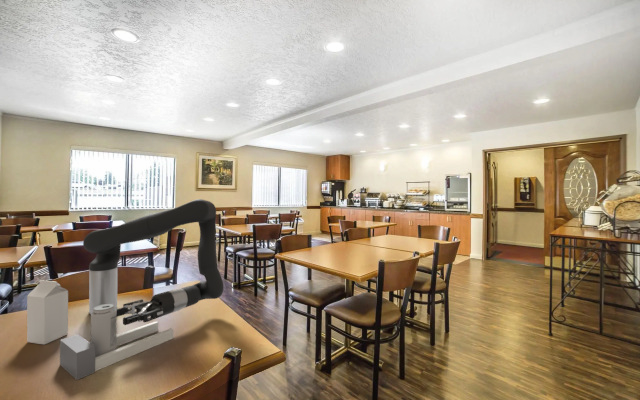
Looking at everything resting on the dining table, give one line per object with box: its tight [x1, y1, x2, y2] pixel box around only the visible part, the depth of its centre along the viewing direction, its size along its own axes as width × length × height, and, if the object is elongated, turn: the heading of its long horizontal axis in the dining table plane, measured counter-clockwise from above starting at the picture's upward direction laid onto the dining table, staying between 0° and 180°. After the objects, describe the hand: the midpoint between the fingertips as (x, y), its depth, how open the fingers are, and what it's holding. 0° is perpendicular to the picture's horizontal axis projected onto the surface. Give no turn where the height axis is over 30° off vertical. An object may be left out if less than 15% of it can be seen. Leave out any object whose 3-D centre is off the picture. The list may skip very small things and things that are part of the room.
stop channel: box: [59, 320, 175, 381], centre depth 88 cm, size 12×26×7 cm, turn 147°
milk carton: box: [26, 279, 69, 345], centre depth 95 cm, size 7×7×19 cm
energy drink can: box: [90, 304, 118, 357], centre depth 84 cm, size 6×6×15 cm
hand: (116, 318), depth 87 cm, fingers open, 8 cm apart
